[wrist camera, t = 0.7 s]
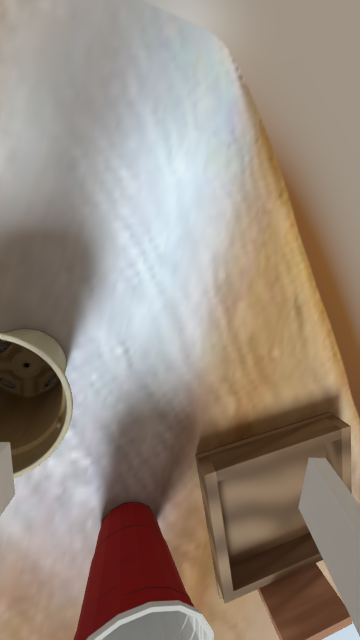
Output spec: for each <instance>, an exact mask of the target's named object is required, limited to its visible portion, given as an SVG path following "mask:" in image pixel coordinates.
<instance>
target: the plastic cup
mask: <svg viewBox="0 0 360 640" xmlns="http://www.w3.org/2000/svg"><path fill="white" fill-rule="evenodd" d="M74 640H214V632H213V631H212V629H211V627H210V626H209V624H208V623H207V621H206V620H205V618H204V617H203V615H202V613H201V612H200V610H199V609H197V608H195V607H194V605H193V604H192V602H191V600H190V597H189V596H188V594H187V593H186V591H185V588H184V586H183V583H182V581H181V578H180V576H179V573H178V571H177V568H176V566H175V563H174V561H173V558H172V556H171V553H170V551H169V548H168V546H167V543H166V541H165V539H164V538H163V536H162V533H161V530H160V527H159V525H158V522H157V519H156V518H155V516H154V514H153V513H152V511H151V509H150V508H149V507H147V506H146V505H144V504H142V503H135V502H130V503H126V504H122V505H120V506H118V507H116V508H115V509H113V510H111V511H110V513H109V514H108V515H107V516H106V517H105V518H104V521H103V524H102V526H101V529H100V532H99V535H98V540H97V545H96V549H95V554H94V557H93V559H92V563H91V567H90V572H89V577H88V581H87V586H86V590H85V595H84V600H83V604H82V609H81V614H80V618H79V623H78V627H77V631H76V634H75V637H74Z"/></svg>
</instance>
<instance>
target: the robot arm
mask: <svg viewBox="0 0 360 640" xmlns="http://www.w3.org/2000/svg"><path fill="white" fill-rule="evenodd" d="M14 495H15V489H14V478H13V468H12V458H11V447H10V442H0V516H1V514H2V513H3V511H4V510H5V508H6V507H7V506H8V504H9V503H10V501H11V500H12V498H13V497H14ZM298 508H299V510H300V512H301V514H302V516H303V518H304V520H305V522H306V524H307V527H308V529H309V531H310V533H311V535H312V537H313V539H314V541H315V543H316V545H317V548H318V550H319V552H320V554H321V556H322V558H323V560H324V562H325V564H326V566H327V569H328V571H329V573H330V575H331V577H332V579H333V581H334V583H335V585H336V587H337V590H338V592H339V594H340V596H341V598H342V600H343V602H344V604H345V606H346V608H347V611H348V613H349V615H350V617H351V619H352V621H353V623H354V625H355V627H356V629H357V631H358V633H359V636H360V505H359V503H358V502H357V501H356V499H355V498H354V496H353V495H352V494H351V492H350V491H349V490H348V488H347V487H346V485H345V484H344V483H343V481H342V480H341V479H340V477H339V476H338V474H337V473H336V472H335V470H334V469H333V468H332V466H331V465H330V463H329V462H328V461H327V459H326V458H309V459H308V464H307V469H306V474H305V478H304V483H303V488H302V493H301V498H300V502H299V507H298Z"/></svg>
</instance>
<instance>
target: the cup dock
mask: <svg viewBox="0 0 360 640" xmlns="http://www.w3.org/2000/svg"><path fill="white" fill-rule="evenodd" d="M309 458H326V459H327V461H328V462H329V463H330V465H331V466H332V468H333V469H334V470H335V472H336V473H337V474H338V476H339V477H340V479H341V480H342V481H343V483H344V484H345V485H346V487H347V488H348V490H349V491H350V492H351V494H352V491H351V426H350V425H348V424H347V423H345V422H344V421H342V420H341V419H339V418H338V417H336V416H335V415H333V414H332V413H330V412H329V413H326V414H323V415H320V416H317V417H314V418H310V419H307V420H304V421H301V422H298V423H295V424H292V425H289V426H285V427H282V428H279V429H276V430H273V431H270V432H267V433H263V434H260V435H257V436H254V437H251V438H248V439H245V440H242V441H238V442H235V443H232V444H229V445H226V446H223V447H220V448H217V449H213V450H210V451H207V452H204V453H201V454H198V455H196V461H197V467H198V474H199V480H200V486H201V492H202V498H203V504H204V510H205V516H206V522H207V528H208V534H209V540H210V546H211V552H212V558H213V564H214V570H215V576H216V582H217V588H218V594H219V597H220V599H222V598H223V599H224V602H225V603H228V602H230V601H232V600H234V599H236V598H239V597H241V596H243V595H245V594H248V593H250V592H252V591H254V590H258V592H259V594H260V597H261V599H262V601H263V603H264V605H265V608H266V610H267V612H268V614H269V616H270V619H271V621H272V623H273V625H274V628H275V630H276V632H277V634H278V636H279V639H280V640H322V639H324V638H325V637H327V636H329V635H331V634H333V633H335V632H337V631H339V630H341V629H343V628H345V627H347V626H349V625H350V624H352V619H351V617H350V615H349V613H348V611H347V608H346V606H345V605H344V604H343V602H342V601H341V599H340V598H339V596H338V595H337V593H336V592H335V591H334V589H333V588H332V586H331V585H330V583H329V582H328V580H327V579H326V578H325V576H324V575H323V573H322V572H321V570H320V569H319V567H318V566H317V564H316V563H317V562H319V561H321V560H323V558H322V556H321V554H320V552H319V550H318V548H317V545H316V543H315V541H314V539H313V537H312V535H311V533H310V531H309V529H308V527H307V524H306V522H305V520H304V518H303V516H302V514H301V512H300V510H299V508H298V507H299V502H300V498H301V493H302V488H303V483H304V478H305V474H306V469H307V464H308V459H309Z"/></svg>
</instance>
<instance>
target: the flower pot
mask: <svg viewBox="0 0 360 640" xmlns="http://www.w3.org/2000/svg"><path fill="white" fill-rule="evenodd" d="M6 341H10V342H11V345H10V346H8V348H6V349H5V350H4V351H3V352H0V442H10V447H11V458H12V468H13V478H17V477H19V476H21V475H23V474H25V473H27V472H29V471H31V470H33V469H34V468H36V467H37V466H39V465H40V464H41V463H43V462H44V461H45V460H46V459H47V458H48V457H50V455H51V454H52V453H53V452H54V451H55V450H56V449H57V447H58V446H59V445H60V443H61V442H62V440H63V438H64V436H65V434H66V433H67V430H68V428H69V425H70V421H71V417H72V410H73V399H72V392H71V389H70V385H69V382H68V380H67V378H66V376H65V370H66V358H65V354H64V352H63V349H62V348H61V346H60V345H59V344H58V342H57V341H56V340H55V339H53V338H52V337H51V336H49V335H47V334H45V333H43V332H41V331H37V330H30V329H19V330H14V331H11V332H7V333H2V332H0V346H1V345H2V344H3V343H5V342H6ZM25 363H28V364H29V367H24V364H25ZM54 375H56V376H57V378H56V380H55V382H53V383H52V384H51V385H49V386H45V384H46V383H47V382H48V381H49V380H50V379H51V378H52V377H53V376H54ZM3 378H4V379H6V380H7V381H8V382H10V383H11V384H13V385H14V386H15V387H14V388H12V387H9V386H7V385H5V384H4V383H2V382H1V379H3Z"/></svg>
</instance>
